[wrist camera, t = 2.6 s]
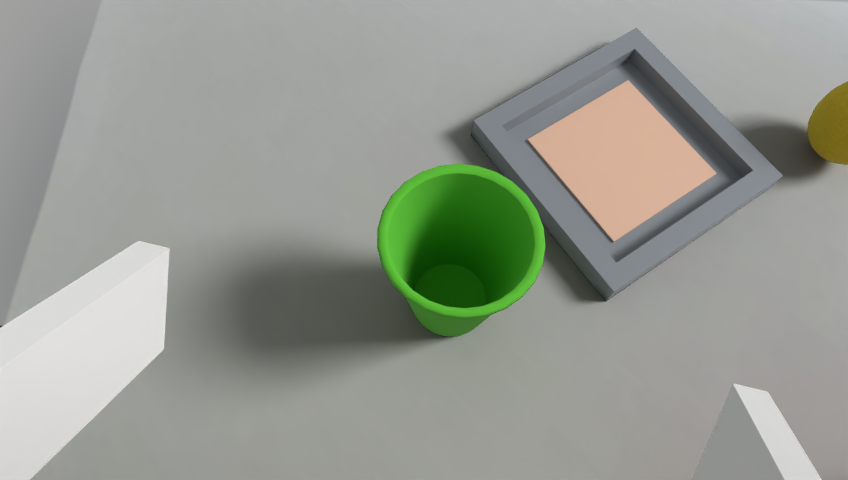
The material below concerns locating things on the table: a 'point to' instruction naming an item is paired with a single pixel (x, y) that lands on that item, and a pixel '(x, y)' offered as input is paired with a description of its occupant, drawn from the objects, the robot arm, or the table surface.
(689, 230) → the gray picture frame
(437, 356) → the table surface
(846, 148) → the lemon
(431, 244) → the cup
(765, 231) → the table surface
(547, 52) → the table surface
